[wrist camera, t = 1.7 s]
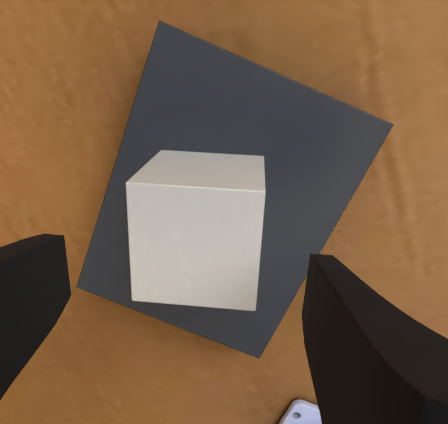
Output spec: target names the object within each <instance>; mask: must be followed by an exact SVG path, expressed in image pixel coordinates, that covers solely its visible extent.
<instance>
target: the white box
mask: <svg viewBox="0 0 448 424" xmlns="http://www.w3.org/2000/svg"><path fill="white" fill-rule="evenodd" d="M265 194H266V190H265V168H264V156H255V155H238V154H221V153H204V152H187V151H170V150H161V151H160V152H158V153H157V154H156V155H155V156H154V157H153V158H152V159H151V160H150V161H149V162H148V163H146V164H145V165H144V166H143V167H142V168H141V169H140V170H139V171H138V172H137V173H136V174H135V175H133V176H132V177H131V178H130V179H129V180H128V181H127V182H126V199H127V218H128V237H129V256H130V276H131V295H132V301H141V302H153V303H165V304H177V305H189V306H201V307H212V308H224V309H236V310H248V311H255V310H256V302H257V290H258V278H259V266H260V254H261V242H262V230H263V218H264V206H265Z"/></svg>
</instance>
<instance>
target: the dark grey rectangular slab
mask: <svg viewBox="0 0 448 424" xmlns="http://www.w3.org/2000/svg"><path fill="white" fill-rule="evenodd" d="M392 126H393V124H391V123H389V122H387V121H385V120H382V119H380V118H378V117H375V116H373V115H371V114H369V113H366V112H364V111H362V110H360V109H357V108H355V107H353V106H351V105H348V104H346V103H344V102H342V101H339V100H337V99H335V98H333V97H330V96H328V95H326V94H324V93H321V92H319V91H317V90H315V89H312V88H310V87H308V86H306V85H303V84H301V83H299V82H297V81H294V80H292V79H290V78H288V77H285V76H283V75H281V74H279V73H276V72H274V71H272V70H270V69H267V68H265V67H263V66H261V65H258V64H256V63H254V62H252V61H249V60H247V59H245V58H243V57H240V56H238V55H236V54H234V53H231V52H229V51H227V50H225V49H222V48H220V47H218V46H216V45H213V44H211V43H209V42H207V41H204V40H202V39H200V38H198V37H195V36H193V35H191V34H189V33H186V32H184V31H182V30H180V29H177V28H175V27H173V26H171V25H168V24H166V23H164V22H162V21H159V23H158V26H157V29H156V33H155V36H154V39H153V42H152V46H151V49H150V52H149V55H148V58H147V62H146V65H145V68H144V71H143V75H142V78H141V81H140V84H139V88H138V91H137V94H136V97H135V100H134V104H133V107H132V110H131V113H130V117H129V120H128V123H127V126H126V129H125V133H124V136H123V139H122V142H121V146H120V149H119V152H118V155H117V158H116V162H115V165H114V168H113V171H112V175H111V178H110V181H109V184H108V187H107V191H106V194H105V197H104V200H103V204H102V207H101V210H100V213H99V216H98V220H97V223H96V226H95V229H94V233H93V236H92V239H91V242H90V245H89V249H88V252H87V255H86V258H85V262H84V265H83V268H82V271H81V274H80V278H79V281H78V284H77V287H78V288H80V289H83V290H85V291H88V292H90V293H93V294H95V295H98V296H101V297H103V298H106V299H108V300H111V301H113V302H116V303H118V304H121V305H124V306H126V307H129V308H131V309H134V310H136V311H139V312H141V313H144V314H147V315H149V316H152V317H154V318H157V319H159V320H162V321H164V322H167V323H170V324H172V325H175V326H177V327H180V328H182V329H185V330H187V331H190V332H193V333H195V334H198V335H200V336H203V337H205V338H208V339H210V340H213V341H216V342H218V343H221V344H223V345H226V346H228V347H231V348H233V349H236V350H239V351H241V352H244V353H246V354H249V355H251V356H254V357H256V358H260V356H261V354H262V353H263V351H264V349H265V347H266V346H267V344H268V342H269V340H270V339H271V337H272V335H273V334H274V332H275V330H276V328H277V327H278V325H279V323H280V321H281V320H282V318H283V316H284V314H285V313H286V311H287V309H288V307H289V306H290V304H291V302H292V300H293V299H294V297H295V295H296V293H297V292H298V290H299V288H300V287H301V285H302V283H303V281H304V280H305V278H306V276H307V273H308V266H309V259H310V254H319V253H320V252H321V250H322V248H323V247H324V245H325V243H326V241H327V240H328V238H329V236H330V234H331V233H332V231H333V229H334V227H335V226H336V224H337V222H338V220H339V219H340V217H341V215H342V213H343V212H344V210H345V208H346V206H347V205H348V203H349V201H350V200H351V198H352V196H353V194H354V193H355V191H356V189H357V187H358V186H359V184H360V182H361V180H362V179H363V177H364V175H365V173H366V172H367V170H368V168H369V166H370V165H371V163H372V161H373V159H374V158H375V156H376V154H377V153H378V151H379V149H380V147H381V146H382V144H383V142H384V140H385V139H386V137H387V135H388V133H389V132H390V130H391V128H392ZM161 150H170V151H187V152H204V153H221V154H238V155H255V156H264V168H265V190H266V194H265V206H264V218H263V230H262V242H261V254H260V266H259V278H258V290H257V302H256V310H255V311H248V310H236V309H224V308H212V307H201V306H189V305H177V304H165V303H153V302H141V301H132V295H131V276H130V256H129V237H128V218H127V199H126V182H127V181H128V180H129V179H130V178H131V177H132V176H133V175H135V174H136V173H137V172H138V171H139V170H140V169H141V168H142V167H143V166H144V165H145V164H146V163H148V162H149V161H150V160H151V159H152V158H153V157H154V156H155V155H156V154H157V153H158V152H160V151H161Z"/></svg>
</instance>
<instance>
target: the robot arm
mask: <svg viewBox="0 0 448 424" xmlns="http://www.w3.org/2000/svg"><path fill="white" fill-rule="evenodd" d="M70 296H71V290H70V282H69V273H68V265H67V257H66V248H65V240H64V235H50V234H42V235H37V236H33V237H30V238H26V239H23V240H20V241H17V242H14V243H11V244H8V245H6V246H3V247H0V400H1V398H2V397H3V395H4V394H5V393H6V391H7V390H8V388H9V387H10V385H11V384H12V383H13V381H14V380H15V378H16V377H17V376H18V374H19V373H20V372H21V370H22V369H23V368H24V366H25V365H26V364H27V362H28V361H29V360H30V358H31V357H32V356H33V354H34V353H35V352H36V350H37V349H38V348H39V346H40V345H41V343H42V342H43V341H44V339H45V338H46V337H47V335H48V334H49V332H50V331H51V330H52V328H53V327H54V325H55V324H56V323H57V321H58V319H59V317H60V315H61V314H62V312H63V310H64V308H65V306H66V304H67V302H68V300H69V298H70ZM302 321H303V333H304V344H305V349H306V354H307V358H308V363H309V367H310V372H311V376H312V381H313V385H314V390H315V394H316V398H317V403H318V406H317V405H315V404H312V403H309V402H307V401H304V400H300V399H299V400H295V401H293V402H292V404H291V405H290V407H289V408H288V410H287V411H286V413H285V414H284V416H283V417H282V419H281V421H280V422H279V424H448V339H447V338H445V337H443V336H442V335H440V334H438V333H436V332H434V331H433V330H431V329H429V328H428V327H426V326H424V325H423V324H421V323H420V322H418V321H416V320H415V319H413V318H411V317H410V316H408V315H407V314H405V313H404V312H402V311H401V310H399V309H398V308H397V307H395V306H394V305H393V304H391V303H390V302H388V301H387V300H386V299H384V298H383V297H382V296H380V295H379V294H378V293H377V292H375V291H374V290H373V289H372V288H370V287H369V286H368V285H367V284H366V283H364V282H363V281H362V280H361V279H360V278H358V277H357V276H356V275H355V274H354V273H353V272H352V271H350V270H349V269H348V268H347V267H346V266H345V265H344V264H342V263H341V262H340V261H339V260H338V259H336V258H335V257H334V256H332V255H322V254H310V259H309V266H308V273H307V281H306V288H305V296H304V303H303V310H302ZM295 413H297V414H295Z"/></svg>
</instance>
